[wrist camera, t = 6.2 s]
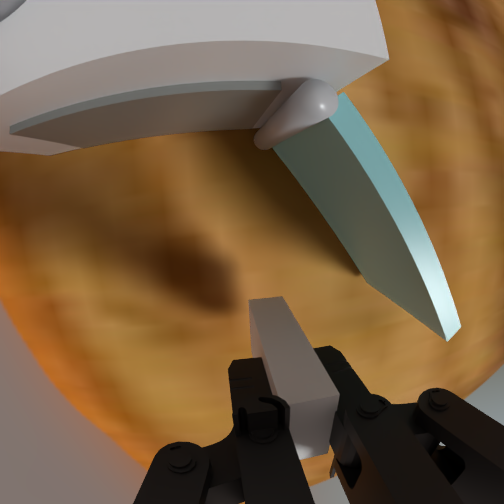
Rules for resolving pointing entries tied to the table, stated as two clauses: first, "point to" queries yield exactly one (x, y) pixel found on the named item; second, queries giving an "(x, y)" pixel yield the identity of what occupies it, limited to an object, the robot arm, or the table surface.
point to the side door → (361, 199)
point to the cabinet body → (168, 65)
